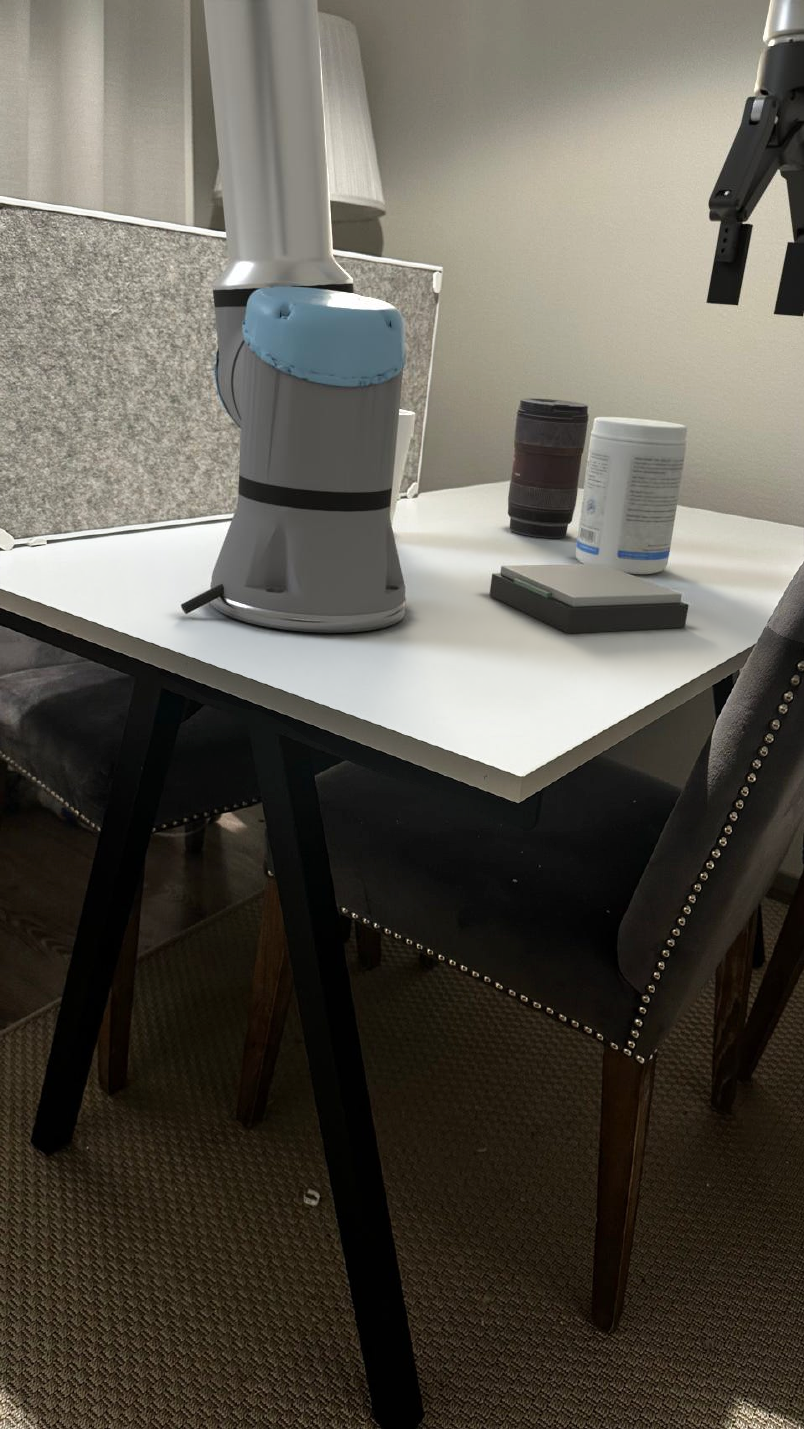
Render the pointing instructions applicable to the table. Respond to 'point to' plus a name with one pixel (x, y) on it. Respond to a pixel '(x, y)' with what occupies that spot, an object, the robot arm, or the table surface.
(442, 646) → the table surface
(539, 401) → the camera lens
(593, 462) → the supplement tub
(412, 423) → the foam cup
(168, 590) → the table surface
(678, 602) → the scale
